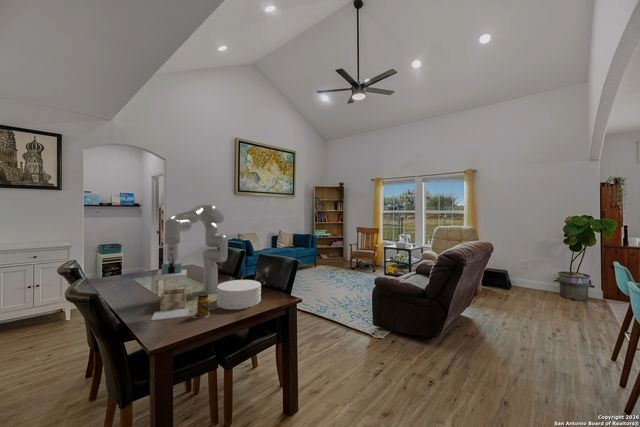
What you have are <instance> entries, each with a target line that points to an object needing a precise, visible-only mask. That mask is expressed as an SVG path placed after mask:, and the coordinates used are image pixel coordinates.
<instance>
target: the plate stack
mask: <svg viewBox="0 0 640 427" xmlns="http://www.w3.org/2000/svg"><path fill="white" fill-rule="evenodd" d="M261 294H262V283H261V282H260V281H257V280H253V279H235V280H228V281H224V282H223V281H222V282H221V283H219V284H218V286H217V292H216V306H218V307H219V308H221V309H225V310H243V309H244V308H245V309H249V308H248V307H250V308H252V306H253V307H255V306H254V305H256V304H258V303H259V302H260V301H261V302H262V299H261V298H262V296H261ZM261 302H260V303H261ZM260 303H259V304H260ZM259 304H258V305H259ZM256 306H257V305H256Z"/></svg>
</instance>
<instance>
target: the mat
mask: <svg viewBox="0 0 640 427" xmlns="http://www.w3.org/2000/svg"><path fill="white" fill-rule="evenodd" d="M189 312H190V308H189V307H185V308H184V309H175V310H165V311H160V310H159V311H154V313H153V315H152V317H151V318H150V321H151V322H153V321H154V322H155V321H164V320H172V319H180V318H188V317H189Z"/></svg>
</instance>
